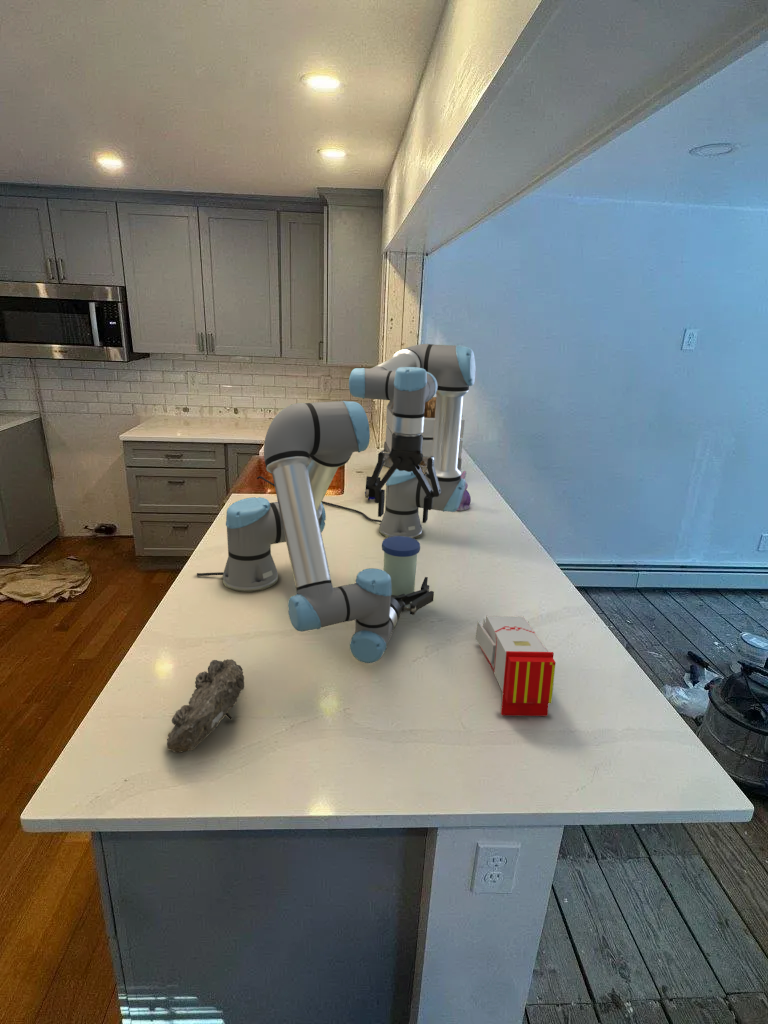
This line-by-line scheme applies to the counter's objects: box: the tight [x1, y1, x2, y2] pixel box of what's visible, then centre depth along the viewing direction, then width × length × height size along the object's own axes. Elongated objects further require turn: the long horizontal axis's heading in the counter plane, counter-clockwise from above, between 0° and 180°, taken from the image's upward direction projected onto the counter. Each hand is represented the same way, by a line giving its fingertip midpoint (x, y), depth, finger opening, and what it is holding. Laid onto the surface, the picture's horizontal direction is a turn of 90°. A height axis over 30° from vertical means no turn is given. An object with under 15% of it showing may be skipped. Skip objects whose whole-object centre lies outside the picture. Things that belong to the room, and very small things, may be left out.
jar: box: [382, 551, 418, 595], centre depth 150 cm, size 9×9×17 cm
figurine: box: [456, 470, 472, 511], centre depth 227 cm, size 9×10×15 cm
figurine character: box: [364, 475, 382, 502], centre depth 235 cm, size 7×8×15 cm
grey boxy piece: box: [383, 396, 465, 473], centre depth 268 cm, size 34×33×41 cm
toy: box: [475, 615, 557, 717], centre depth 123 cm, size 12×13×30 cm
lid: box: [381, 536, 421, 557], centre depth 147 cm, size 10×10×2 cm
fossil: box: [166, 658, 245, 754], centre depth 106 cm, size 22×10×15 cm
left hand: (401, 577), depth 154 cm, fingers open, 13 cm apart
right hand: (402, 518), depth 145 cm, fingers open, 11 cm apart
